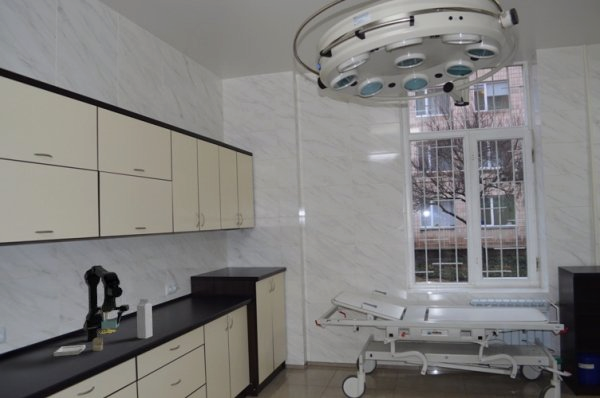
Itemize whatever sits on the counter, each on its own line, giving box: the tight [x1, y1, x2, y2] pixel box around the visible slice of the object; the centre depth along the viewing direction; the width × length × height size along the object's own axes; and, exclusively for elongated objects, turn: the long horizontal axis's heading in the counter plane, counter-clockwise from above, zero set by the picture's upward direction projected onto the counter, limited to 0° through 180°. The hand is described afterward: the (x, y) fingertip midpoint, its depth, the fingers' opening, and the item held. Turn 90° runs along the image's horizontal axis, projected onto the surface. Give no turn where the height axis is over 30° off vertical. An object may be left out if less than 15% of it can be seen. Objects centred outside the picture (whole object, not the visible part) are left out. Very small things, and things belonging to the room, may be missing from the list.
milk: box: [136, 298, 153, 340], centre depth 267 cm, size 6×6×22 cm
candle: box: [98, 312, 117, 335], centre depth 285 cm, size 10×10×32 cm
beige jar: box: [92, 336, 104, 352], centre depth 244 cm, size 4×4×6 cm
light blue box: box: [101, 318, 120, 330], centre depth 246 cm, size 7×7×4 cm
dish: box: [53, 344, 86, 357], centre depth 241 cm, size 12×12×2 cm
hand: (110, 325), depth 246 cm, fingers closed on light blue box, 7 cm apart
